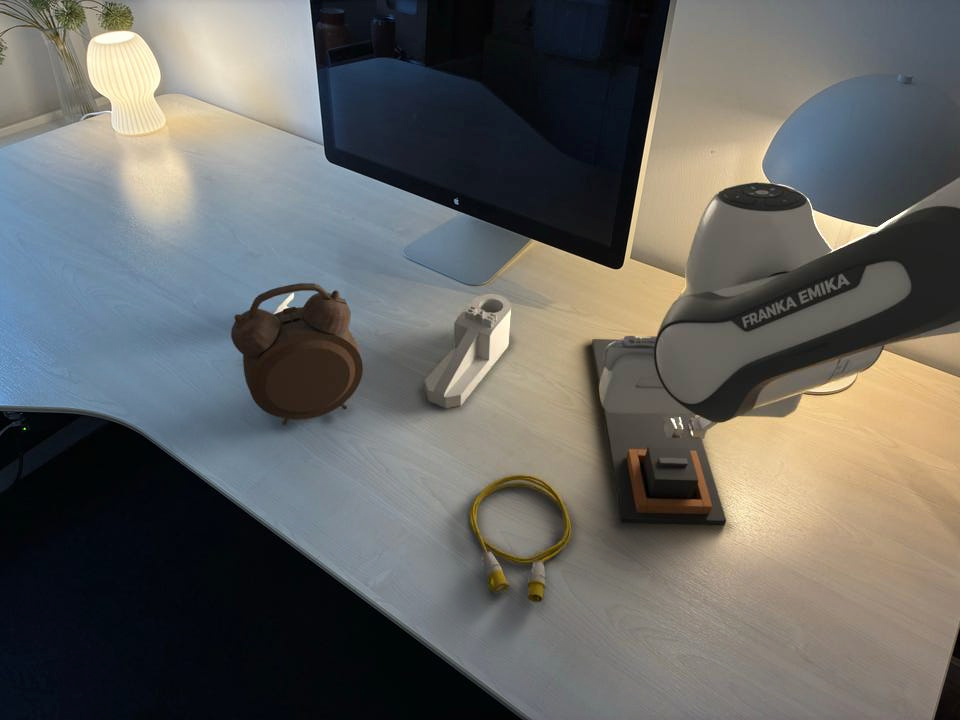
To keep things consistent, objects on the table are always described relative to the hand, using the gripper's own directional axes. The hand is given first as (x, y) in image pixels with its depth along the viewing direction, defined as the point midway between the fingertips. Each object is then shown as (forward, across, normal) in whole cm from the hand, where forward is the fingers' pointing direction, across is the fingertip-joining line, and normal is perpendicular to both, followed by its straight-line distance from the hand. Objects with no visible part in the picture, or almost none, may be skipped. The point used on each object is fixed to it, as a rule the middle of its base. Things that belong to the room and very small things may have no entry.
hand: (683, 434), depth 76 cm
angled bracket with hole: (+10, -24, +21) cm, 34 cm away
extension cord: (+10, -18, -7) cm, 22 cm away
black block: (+9, 0, 0) cm, 9 cm away
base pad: (+10, 0, +11) cm, 15 cm away
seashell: (+10, -54, +29) cm, 62 cm away
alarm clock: (+10, -46, +12) cm, 48 cm away
